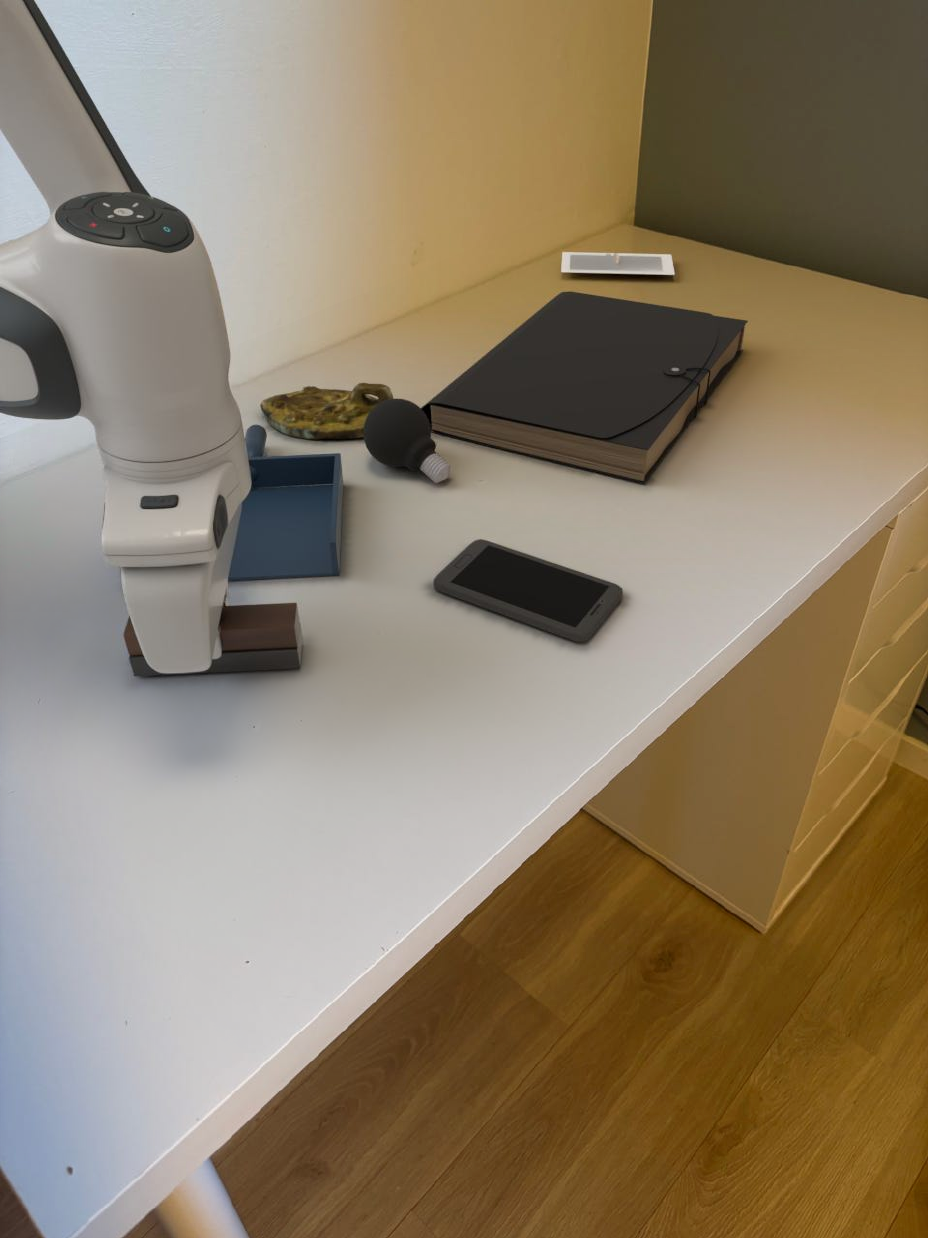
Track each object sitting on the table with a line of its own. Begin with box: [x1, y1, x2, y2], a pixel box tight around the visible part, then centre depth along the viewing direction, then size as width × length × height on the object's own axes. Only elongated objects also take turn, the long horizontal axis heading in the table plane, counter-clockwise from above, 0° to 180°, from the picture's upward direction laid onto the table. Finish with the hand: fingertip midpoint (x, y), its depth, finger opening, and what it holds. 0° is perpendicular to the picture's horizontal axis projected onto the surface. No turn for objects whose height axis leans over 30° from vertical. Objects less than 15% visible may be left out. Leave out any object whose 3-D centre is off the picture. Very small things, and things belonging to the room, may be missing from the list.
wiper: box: [122, 602, 304, 677], centre depth 72 cm, size 3×12×6 cm, turn 94°
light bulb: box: [363, 398, 451, 484], centre depth 94 cm, size 6×6×10 cm
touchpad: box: [560, 251, 676, 276], centre depth 135 cm, size 8×15×2 cm, turn 84°
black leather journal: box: [420, 290, 749, 484], centre depth 107 cm, size 33×4×24 cm
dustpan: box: [228, 424, 344, 582], centre depth 89 cm, size 22×17×3 cm
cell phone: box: [432, 538, 624, 643], centre depth 79 cm, size 7×14×1 cm, turn 58°
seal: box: [259, 382, 394, 440], centre depth 102 cm, size 9×5×15 cm
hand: (214, 634), depth 72 cm, fingers closed on wiper, 3 cm apart
